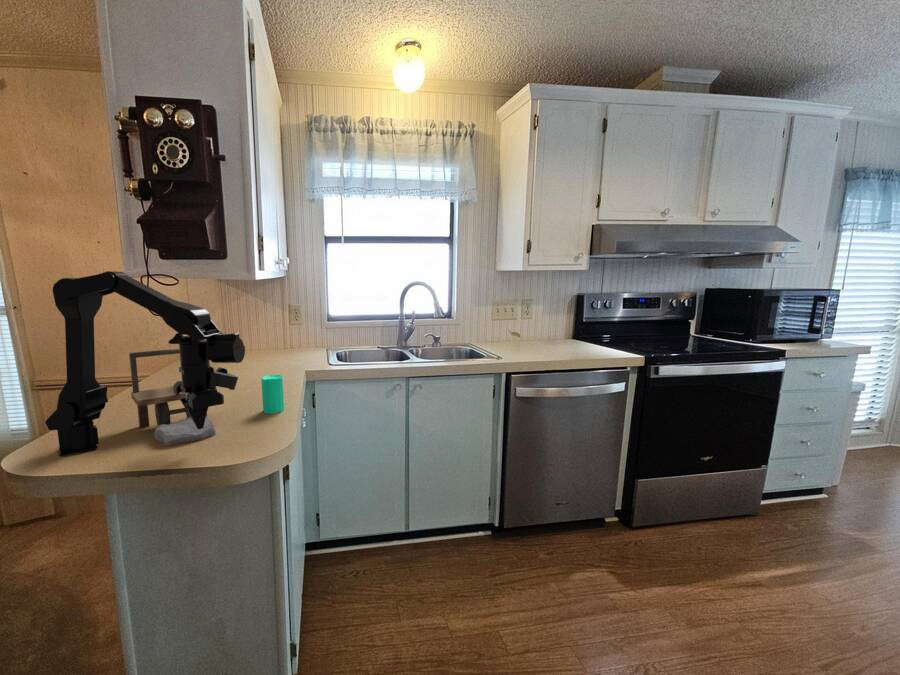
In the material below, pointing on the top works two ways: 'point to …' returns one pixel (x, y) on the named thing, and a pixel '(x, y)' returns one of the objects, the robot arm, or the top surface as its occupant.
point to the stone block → (183, 431)
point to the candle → (272, 393)
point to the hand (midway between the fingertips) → (200, 428)
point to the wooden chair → (154, 393)
